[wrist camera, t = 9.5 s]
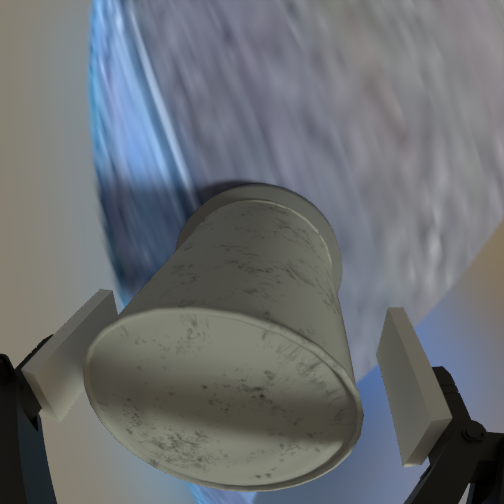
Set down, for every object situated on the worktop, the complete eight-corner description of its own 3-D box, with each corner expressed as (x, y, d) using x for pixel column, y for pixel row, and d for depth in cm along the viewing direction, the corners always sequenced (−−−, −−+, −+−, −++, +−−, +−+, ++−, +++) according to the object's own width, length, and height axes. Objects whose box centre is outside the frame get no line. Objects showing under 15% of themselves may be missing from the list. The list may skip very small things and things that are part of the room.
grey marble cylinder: (166, 217, 20) (38, 320, 9) (317, 184, 18) (354, 277, 7) (208, 341, 23) (152, 483, 12) (340, 323, 21) (363, 483, 10)
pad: (311, 160, 19) (313, 163, 18) (354, 309, 23) (358, 321, 21) (157, 215, 22) (148, 221, 20) (216, 343, 25) (212, 355, 24)
